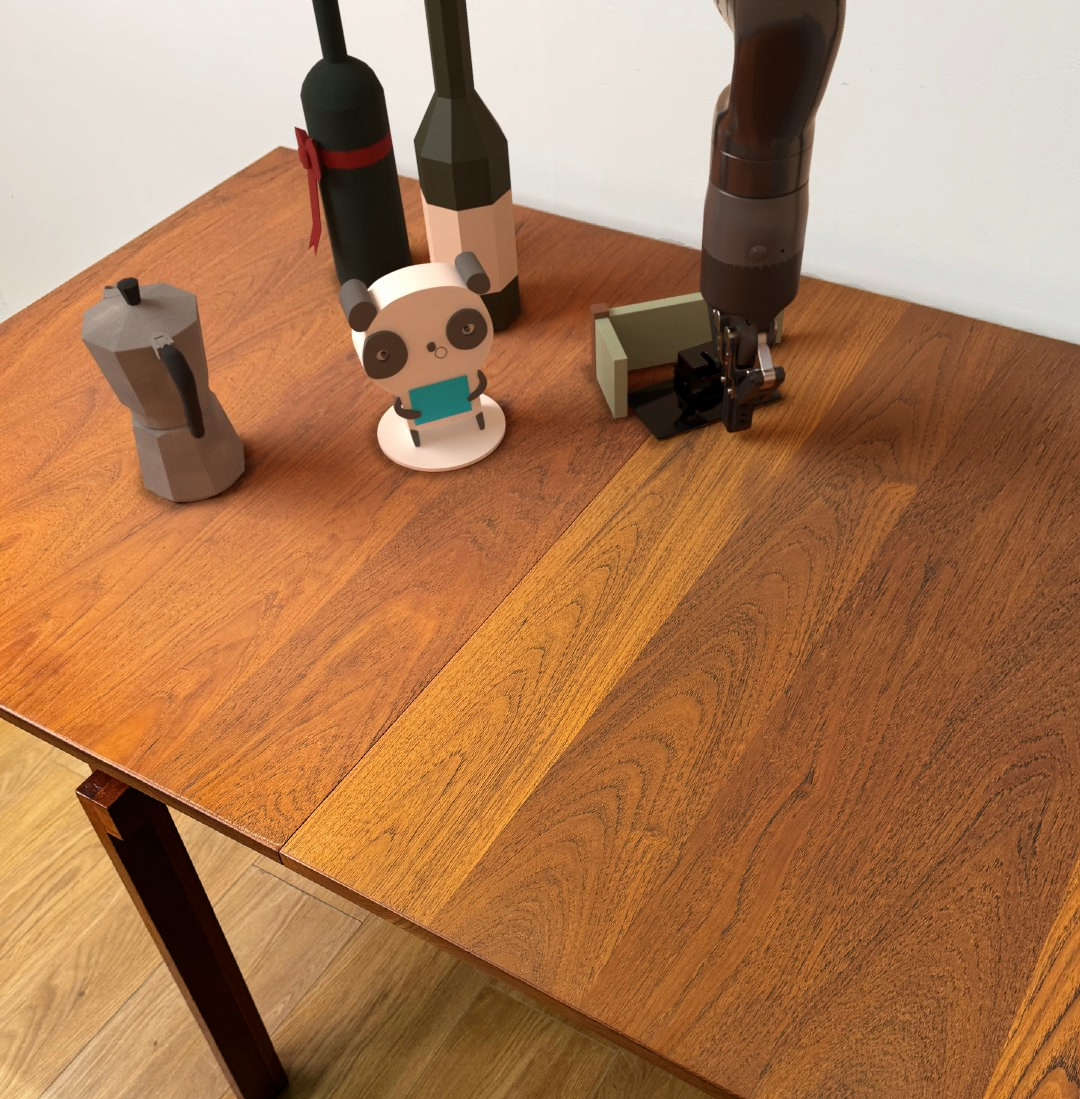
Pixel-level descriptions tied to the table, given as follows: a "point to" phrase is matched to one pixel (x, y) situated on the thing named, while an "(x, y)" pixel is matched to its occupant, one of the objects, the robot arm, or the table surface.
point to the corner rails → (645, 339)
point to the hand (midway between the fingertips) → (736, 425)
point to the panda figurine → (428, 361)
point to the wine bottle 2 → (466, 167)
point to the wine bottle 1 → (351, 159)
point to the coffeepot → (164, 388)
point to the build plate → (684, 395)
